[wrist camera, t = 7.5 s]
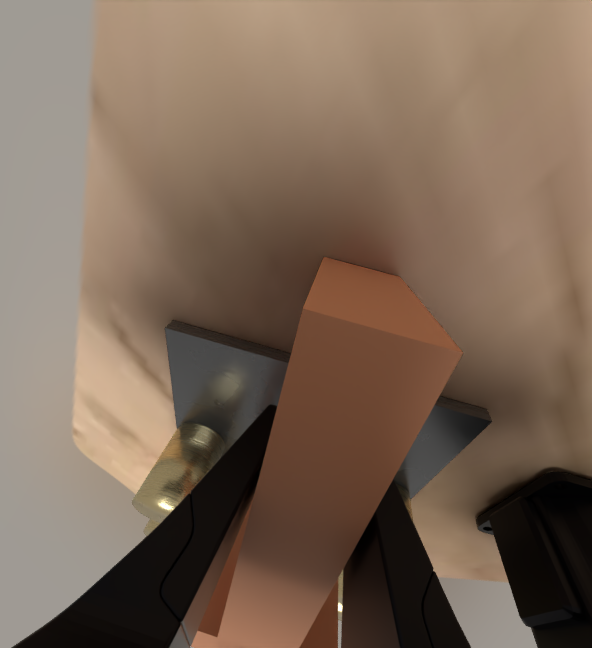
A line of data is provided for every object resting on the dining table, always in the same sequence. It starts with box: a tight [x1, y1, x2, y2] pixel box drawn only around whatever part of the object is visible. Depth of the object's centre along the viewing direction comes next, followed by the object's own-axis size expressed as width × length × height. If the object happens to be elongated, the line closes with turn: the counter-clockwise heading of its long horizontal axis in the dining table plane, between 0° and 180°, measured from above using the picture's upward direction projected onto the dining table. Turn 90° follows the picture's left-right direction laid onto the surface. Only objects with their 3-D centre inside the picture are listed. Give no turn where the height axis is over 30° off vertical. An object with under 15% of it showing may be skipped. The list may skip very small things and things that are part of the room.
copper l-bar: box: [191, 257, 463, 648], centre depth 10 cm, size 6×14×5 cm, turn 169°
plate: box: [132, 320, 492, 621], centre depth 15 cm, size 14×18×5 cm
